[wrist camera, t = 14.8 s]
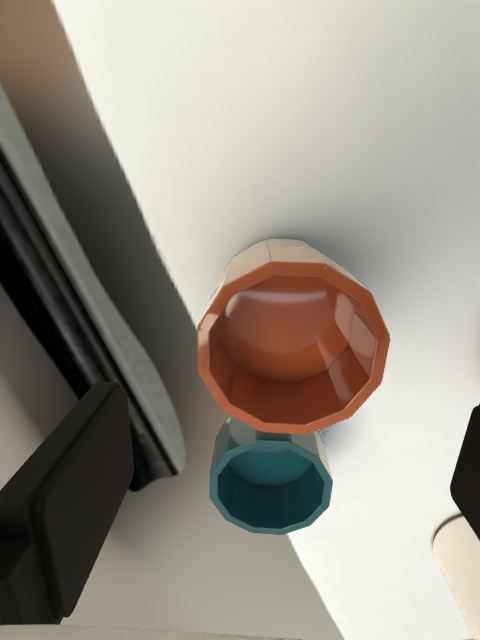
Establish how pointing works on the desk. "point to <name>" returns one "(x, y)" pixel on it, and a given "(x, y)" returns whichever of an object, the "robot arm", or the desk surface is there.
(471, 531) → the can
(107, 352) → the desk surface
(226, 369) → the middle bowl
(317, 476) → the top bowl
